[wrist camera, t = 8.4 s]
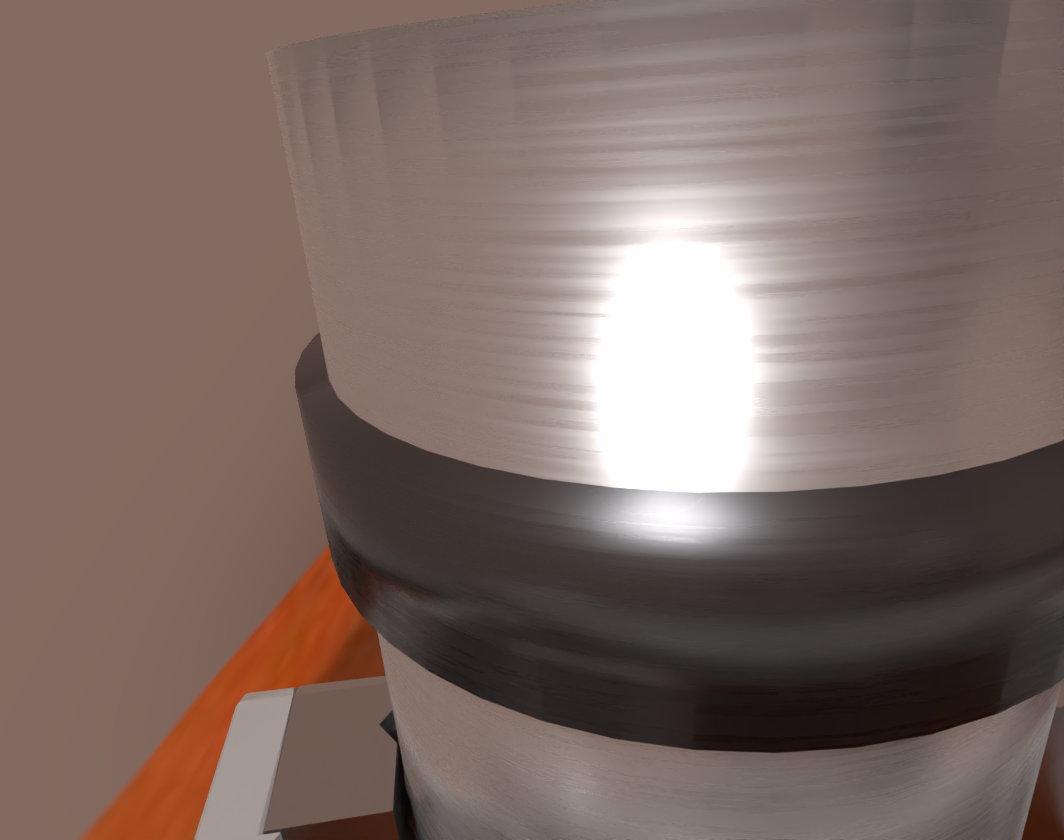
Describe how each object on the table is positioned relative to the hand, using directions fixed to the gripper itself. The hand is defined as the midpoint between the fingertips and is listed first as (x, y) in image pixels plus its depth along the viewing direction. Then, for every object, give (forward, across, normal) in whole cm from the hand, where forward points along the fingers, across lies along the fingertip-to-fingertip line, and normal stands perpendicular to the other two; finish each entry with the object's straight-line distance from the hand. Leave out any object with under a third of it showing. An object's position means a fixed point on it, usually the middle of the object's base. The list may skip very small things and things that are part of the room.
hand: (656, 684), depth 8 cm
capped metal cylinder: (-1, 0, +8) cm, 8 cm away
